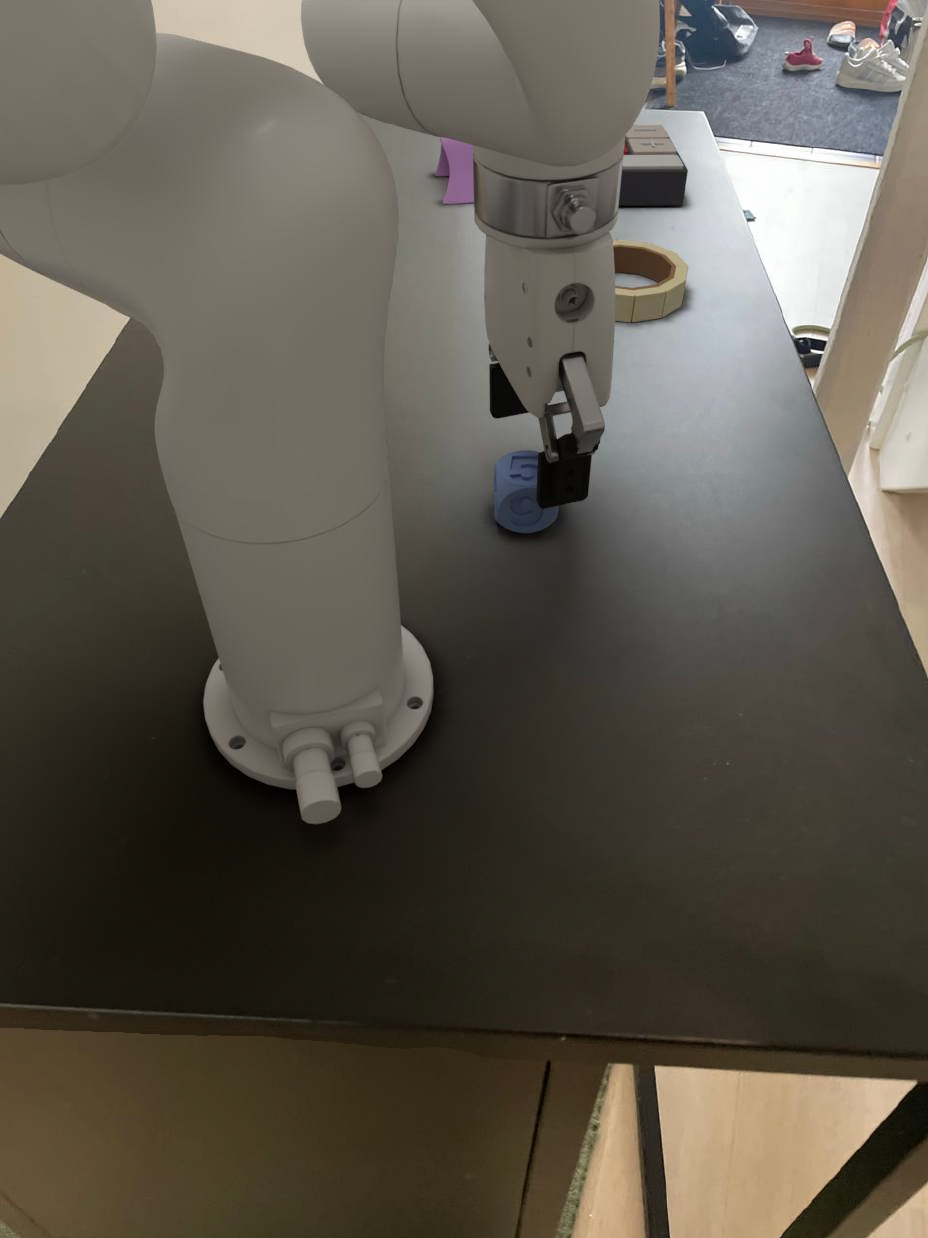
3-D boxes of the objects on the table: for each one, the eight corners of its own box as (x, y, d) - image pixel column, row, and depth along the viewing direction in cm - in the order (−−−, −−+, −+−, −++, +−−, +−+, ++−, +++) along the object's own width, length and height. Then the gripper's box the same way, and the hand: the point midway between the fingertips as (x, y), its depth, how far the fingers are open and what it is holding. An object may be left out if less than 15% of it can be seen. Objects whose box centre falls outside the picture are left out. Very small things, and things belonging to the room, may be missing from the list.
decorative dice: (550, 496, 63) (554, 448, 61) (556, 533, 61) (560, 485, 58) (493, 497, 63) (494, 449, 61) (496, 534, 61) (497, 486, 58)
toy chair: (497, 170, 105) (500, 18, 94) (510, 200, 99) (515, 41, 88) (425, 174, 104) (420, 21, 93) (434, 204, 98) (430, 45, 87)
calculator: (666, 121, 105) (690, 162, 95) (661, 161, 108) (683, 205, 97) (571, 121, 105) (584, 162, 95) (568, 161, 108) (581, 206, 97)
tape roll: (703, 312, 82) (708, 285, 80) (588, 329, 80) (591, 302, 78) (652, 259, 89) (656, 233, 87) (546, 273, 87) (548, 248, 85)
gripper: (686, 252, 42) (642, 528, 54) (558, 118, 53) (546, 374, 66) (531, 278, 41) (523, 555, 53) (433, 136, 52) (446, 393, 64)
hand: (536, 455), depth 59 cm, fingers open, 9 cm apart
